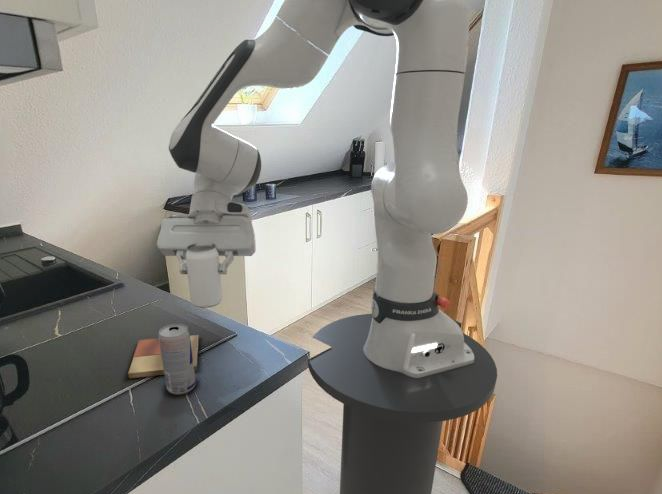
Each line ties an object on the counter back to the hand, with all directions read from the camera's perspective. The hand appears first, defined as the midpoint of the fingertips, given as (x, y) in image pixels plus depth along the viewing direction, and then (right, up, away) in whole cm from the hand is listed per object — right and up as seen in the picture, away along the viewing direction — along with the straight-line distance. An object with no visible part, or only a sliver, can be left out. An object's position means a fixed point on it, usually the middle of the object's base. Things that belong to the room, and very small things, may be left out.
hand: (203, 273), depth 81 cm
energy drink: (-3, -22, -5) cm, 22 cm away
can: (0, -6, +3) cm, 7 cm away
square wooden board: (-9, -18, +4) cm, 20 cm away
